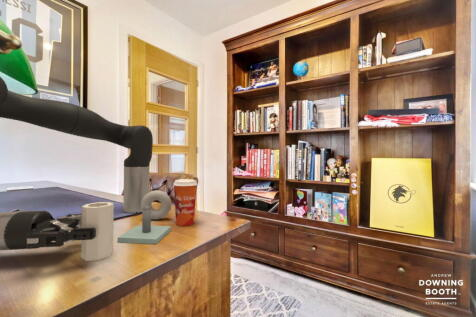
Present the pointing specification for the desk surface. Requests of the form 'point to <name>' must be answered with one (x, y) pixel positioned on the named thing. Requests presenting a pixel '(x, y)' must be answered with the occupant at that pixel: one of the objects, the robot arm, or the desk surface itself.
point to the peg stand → (145, 231)
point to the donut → (160, 197)
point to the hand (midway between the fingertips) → (103, 226)
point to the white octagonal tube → (98, 230)
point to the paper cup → (185, 201)
